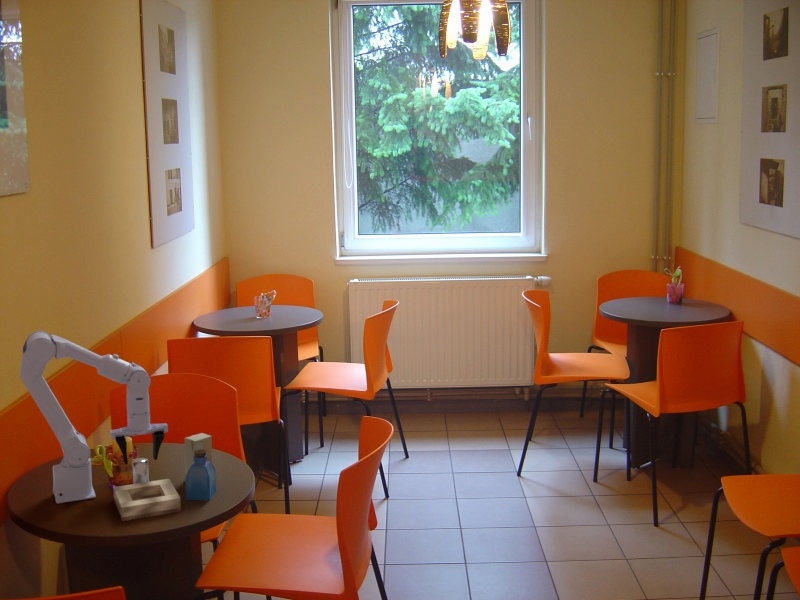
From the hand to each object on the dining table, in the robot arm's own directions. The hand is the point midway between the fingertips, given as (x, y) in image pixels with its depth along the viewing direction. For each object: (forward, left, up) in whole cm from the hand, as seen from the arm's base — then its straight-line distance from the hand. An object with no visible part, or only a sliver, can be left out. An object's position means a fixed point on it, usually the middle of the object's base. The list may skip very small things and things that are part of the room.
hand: (140, 460), depth 227 cm
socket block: (-1, -14, -7) cm, 16 cm away
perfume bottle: (+13, -13, -7) cm, 20 cm away
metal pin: (0, 0, -7) cm, 7 cm away
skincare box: (+15, -2, -7) cm, 17 cm away
